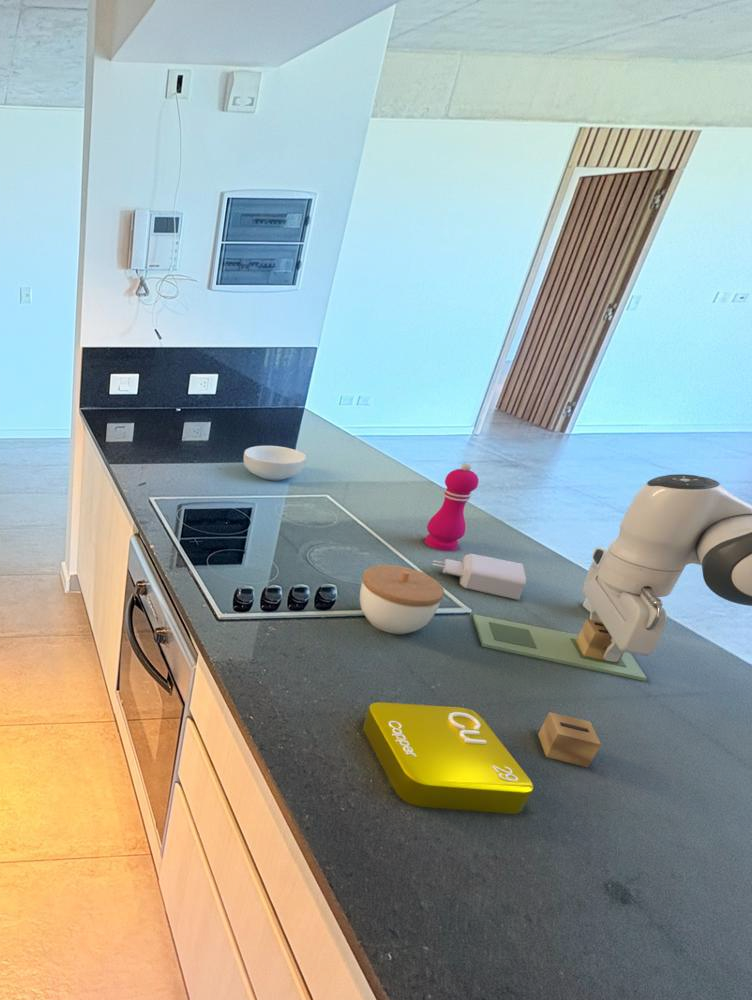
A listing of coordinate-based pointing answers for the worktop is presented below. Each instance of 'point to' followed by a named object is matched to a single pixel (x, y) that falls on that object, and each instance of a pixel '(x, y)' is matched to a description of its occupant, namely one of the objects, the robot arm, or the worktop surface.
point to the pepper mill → (452, 510)
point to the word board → (548, 646)
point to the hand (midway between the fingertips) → (600, 645)
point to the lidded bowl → (399, 598)
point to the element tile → (445, 758)
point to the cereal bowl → (274, 462)
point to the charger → (487, 575)
